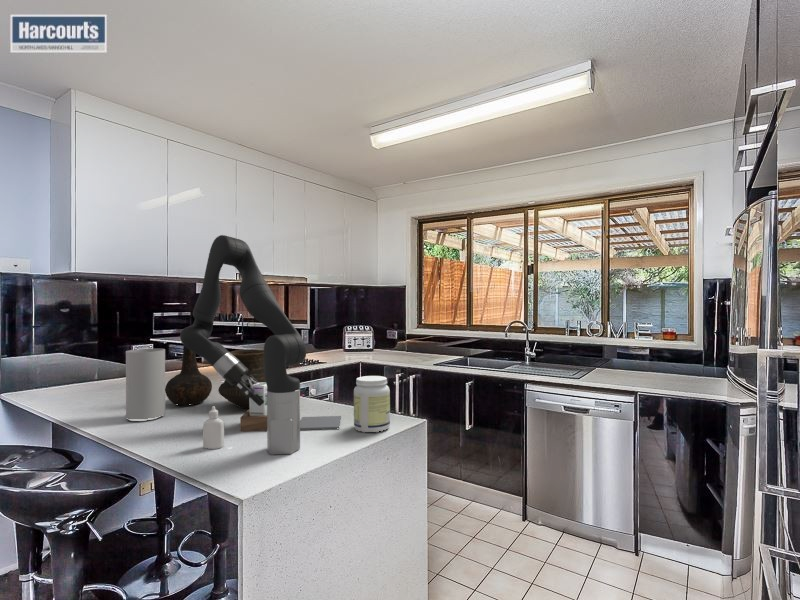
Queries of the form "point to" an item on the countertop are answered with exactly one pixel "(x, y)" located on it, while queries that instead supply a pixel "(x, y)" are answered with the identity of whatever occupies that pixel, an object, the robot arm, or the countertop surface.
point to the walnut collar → (252, 422)
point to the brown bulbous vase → (188, 382)
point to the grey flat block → (320, 422)
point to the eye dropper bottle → (213, 431)
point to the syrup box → (262, 392)
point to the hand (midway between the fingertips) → (265, 401)
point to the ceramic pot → (255, 368)
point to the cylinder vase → (145, 383)
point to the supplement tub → (371, 404)
